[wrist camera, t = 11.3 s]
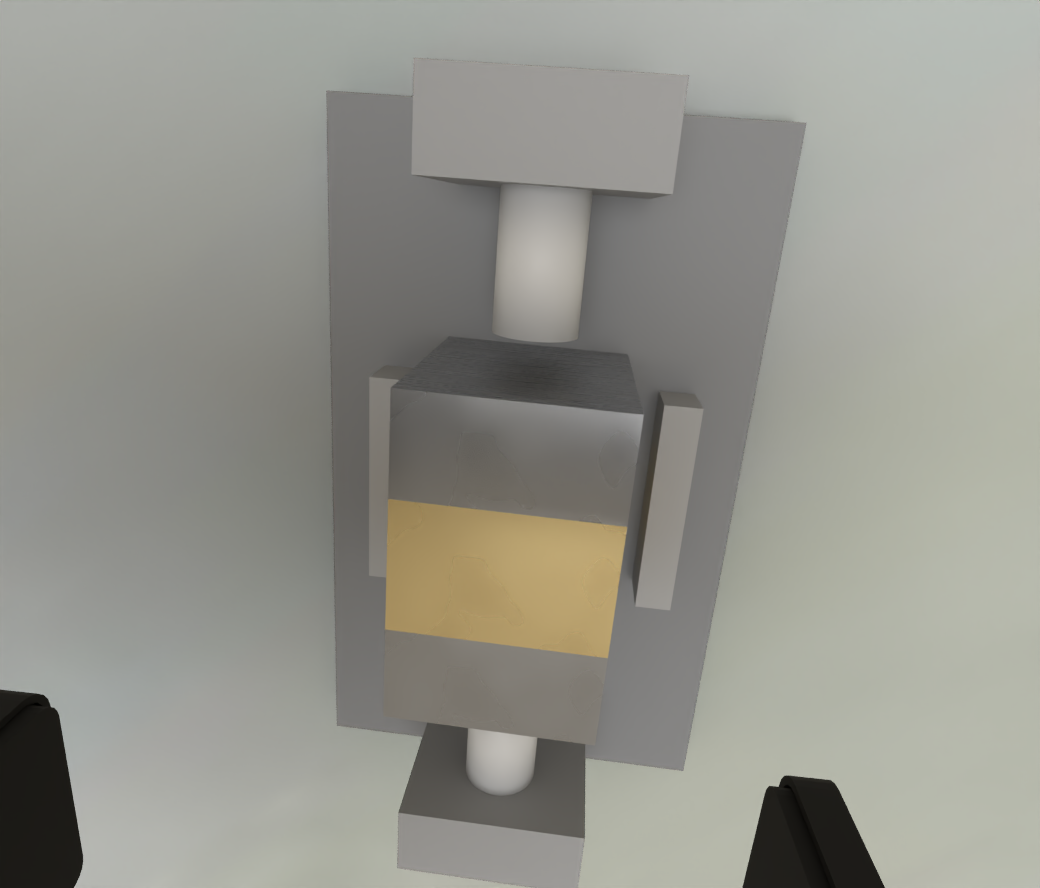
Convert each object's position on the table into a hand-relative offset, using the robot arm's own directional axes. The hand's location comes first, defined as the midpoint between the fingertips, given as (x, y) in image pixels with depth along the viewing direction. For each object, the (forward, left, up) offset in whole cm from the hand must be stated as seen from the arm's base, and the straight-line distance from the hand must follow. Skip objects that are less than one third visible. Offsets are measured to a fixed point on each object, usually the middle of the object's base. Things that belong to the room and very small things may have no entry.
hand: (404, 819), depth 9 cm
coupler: (+1, 0, -12) cm, 12 cm away
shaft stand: (+1, 0, -13) cm, 13 cm away
